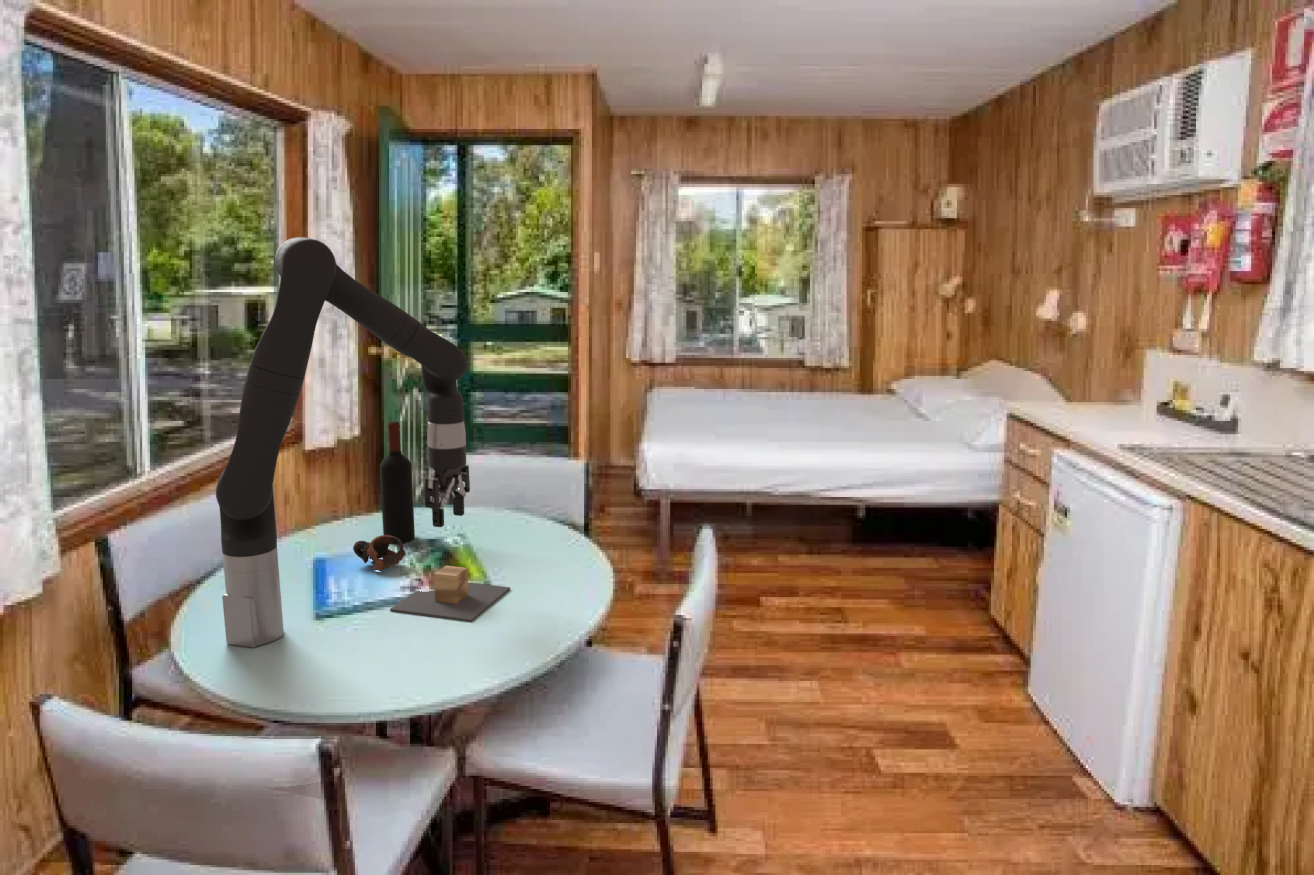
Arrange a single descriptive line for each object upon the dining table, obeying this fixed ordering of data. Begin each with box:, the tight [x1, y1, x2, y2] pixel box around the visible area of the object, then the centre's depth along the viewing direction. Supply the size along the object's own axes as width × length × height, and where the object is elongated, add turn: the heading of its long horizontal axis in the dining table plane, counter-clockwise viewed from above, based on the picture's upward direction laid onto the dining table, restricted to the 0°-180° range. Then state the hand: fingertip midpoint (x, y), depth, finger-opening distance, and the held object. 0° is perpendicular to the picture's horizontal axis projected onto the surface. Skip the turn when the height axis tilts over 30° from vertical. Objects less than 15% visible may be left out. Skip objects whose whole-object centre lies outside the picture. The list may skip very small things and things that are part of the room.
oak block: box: [433, 565, 469, 604], centre depth 186 cm, size 5×5×6 cm
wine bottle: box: [379, 420, 416, 545], centre depth 222 cm, size 8×8×30 cm
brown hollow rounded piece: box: [352, 534, 407, 572], centre depth 205 cm, size 12×10×8 cm
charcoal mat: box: [389, 582, 511, 622], centre depth 187 cm, size 18×18×1 cm
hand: (448, 520), depth 183 cm, fingers open, 8 cm apart
